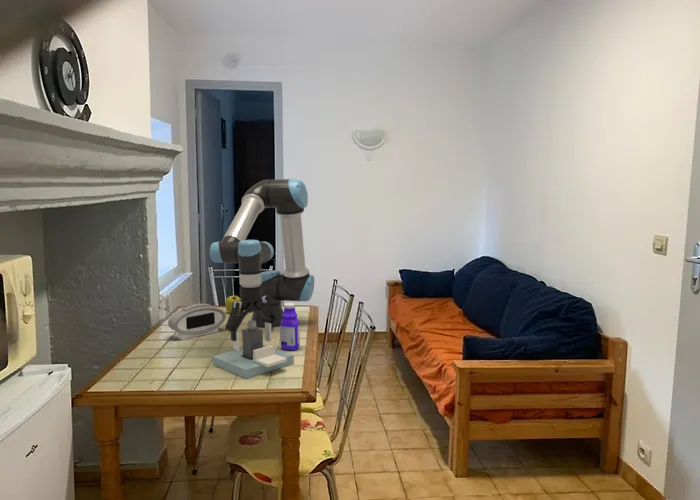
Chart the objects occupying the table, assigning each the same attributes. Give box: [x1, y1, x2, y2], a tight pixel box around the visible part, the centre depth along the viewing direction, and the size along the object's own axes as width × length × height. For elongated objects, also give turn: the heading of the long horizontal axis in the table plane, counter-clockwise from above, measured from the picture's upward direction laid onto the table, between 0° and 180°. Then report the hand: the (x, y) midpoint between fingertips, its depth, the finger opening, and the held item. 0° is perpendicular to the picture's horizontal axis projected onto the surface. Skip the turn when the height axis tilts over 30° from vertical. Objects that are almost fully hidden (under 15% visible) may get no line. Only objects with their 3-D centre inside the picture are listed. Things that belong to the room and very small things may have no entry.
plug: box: [241, 319, 264, 360], centre depth 193 cm, size 5×5×15 cm
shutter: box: [253, 344, 287, 367], centre depth 187 cm, size 8×8×4 cm
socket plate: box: [212, 344, 295, 380], centre depth 194 cm, size 20×20×3 cm
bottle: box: [279, 302, 301, 351], centre depth 210 cm, size 7×6×17 cm
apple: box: [224, 293, 241, 314], centre depth 266 cm, size 8×8×10 cm
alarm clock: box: [167, 303, 227, 341], centre depth 230 cm, size 23×6×13 cm, turn 132°
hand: (252, 345), depth 193 cm, fingers open, 13 cm apart
